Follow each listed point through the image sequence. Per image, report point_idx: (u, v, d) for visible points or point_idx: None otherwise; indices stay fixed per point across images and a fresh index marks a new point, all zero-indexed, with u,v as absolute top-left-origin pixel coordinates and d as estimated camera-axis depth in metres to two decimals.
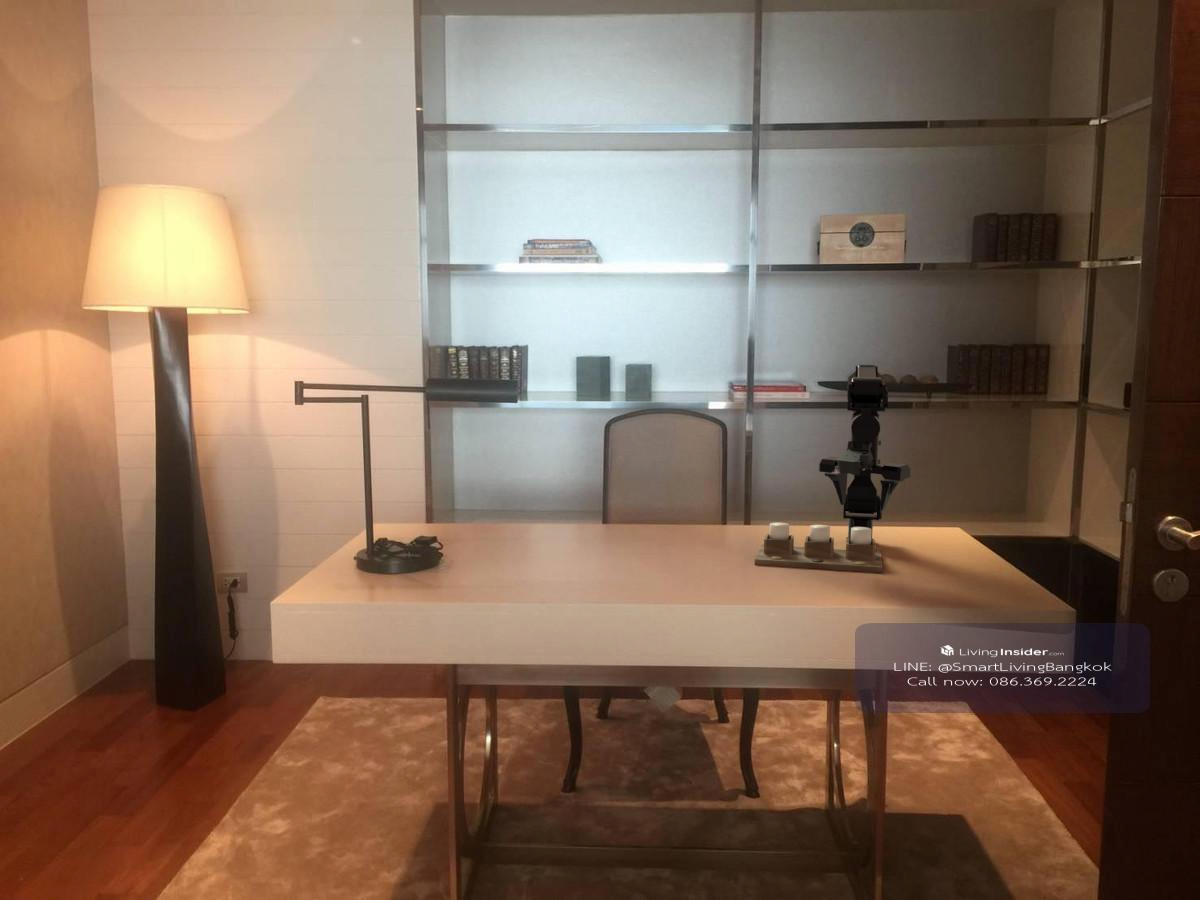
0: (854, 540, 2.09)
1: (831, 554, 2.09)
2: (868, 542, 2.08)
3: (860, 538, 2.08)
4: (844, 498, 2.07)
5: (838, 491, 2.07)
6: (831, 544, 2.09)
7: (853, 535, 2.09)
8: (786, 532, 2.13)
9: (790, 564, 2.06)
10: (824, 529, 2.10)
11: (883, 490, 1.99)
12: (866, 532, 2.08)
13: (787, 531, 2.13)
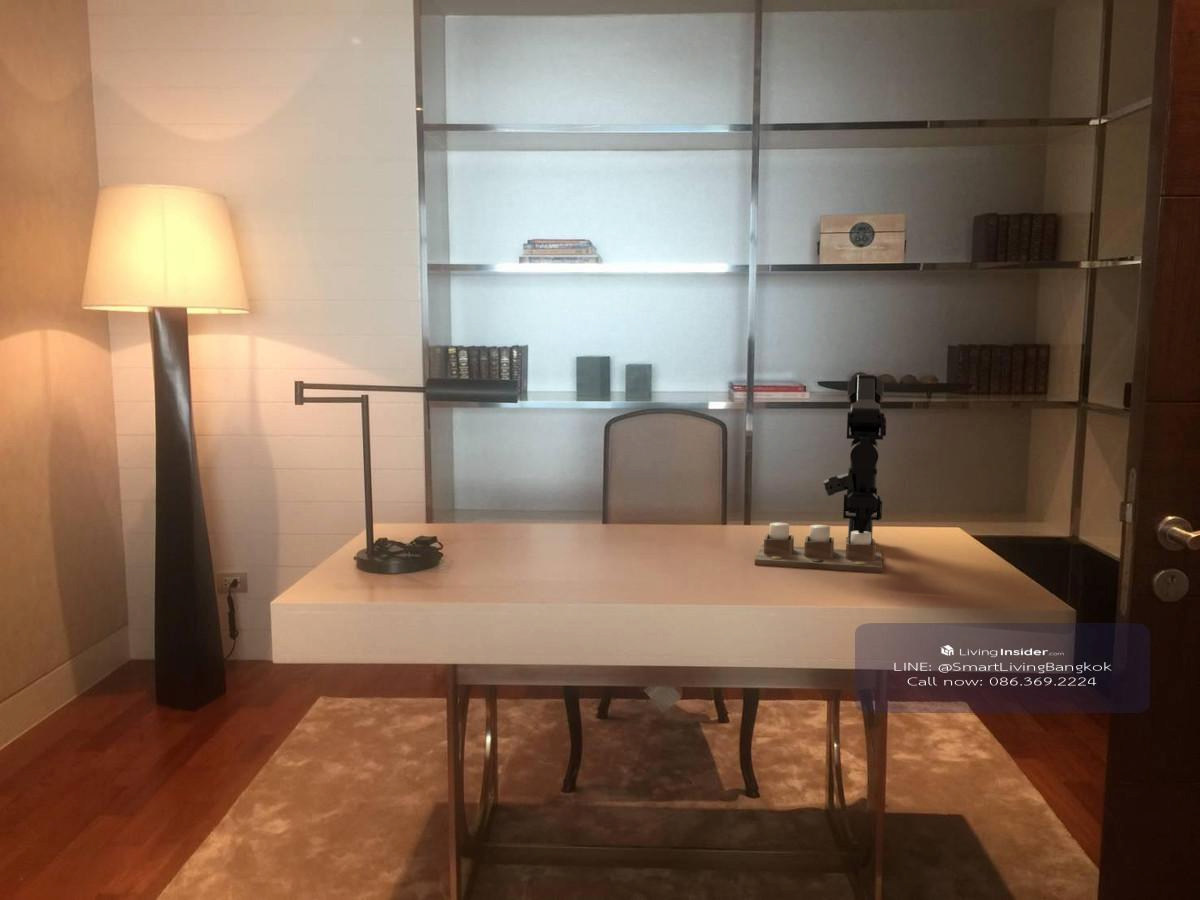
0: None
1: (831, 554, 2.09)
2: None
3: (860, 542, 2.08)
4: None
5: None
6: (831, 544, 2.09)
7: (853, 539, 2.09)
8: (786, 532, 2.13)
9: (790, 564, 2.06)
10: (824, 529, 2.10)
11: None
12: (866, 536, 2.08)
13: (787, 531, 2.13)
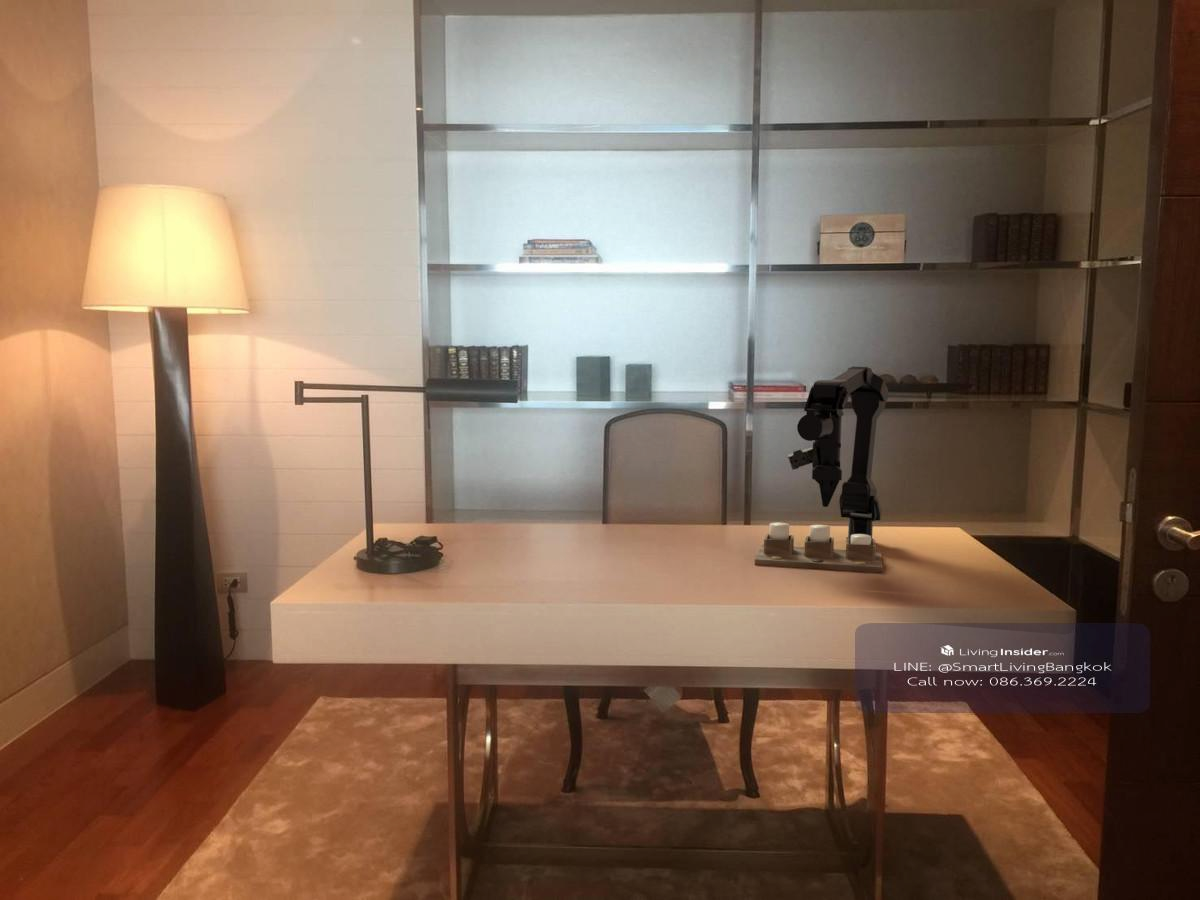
0: None
1: (831, 554, 2.09)
2: None
3: None
4: None
5: None
6: (831, 544, 2.09)
7: (853, 542, 2.09)
8: (786, 532, 2.13)
9: (790, 564, 2.06)
10: (824, 529, 2.10)
11: None
12: (866, 539, 2.08)
13: (787, 531, 2.13)
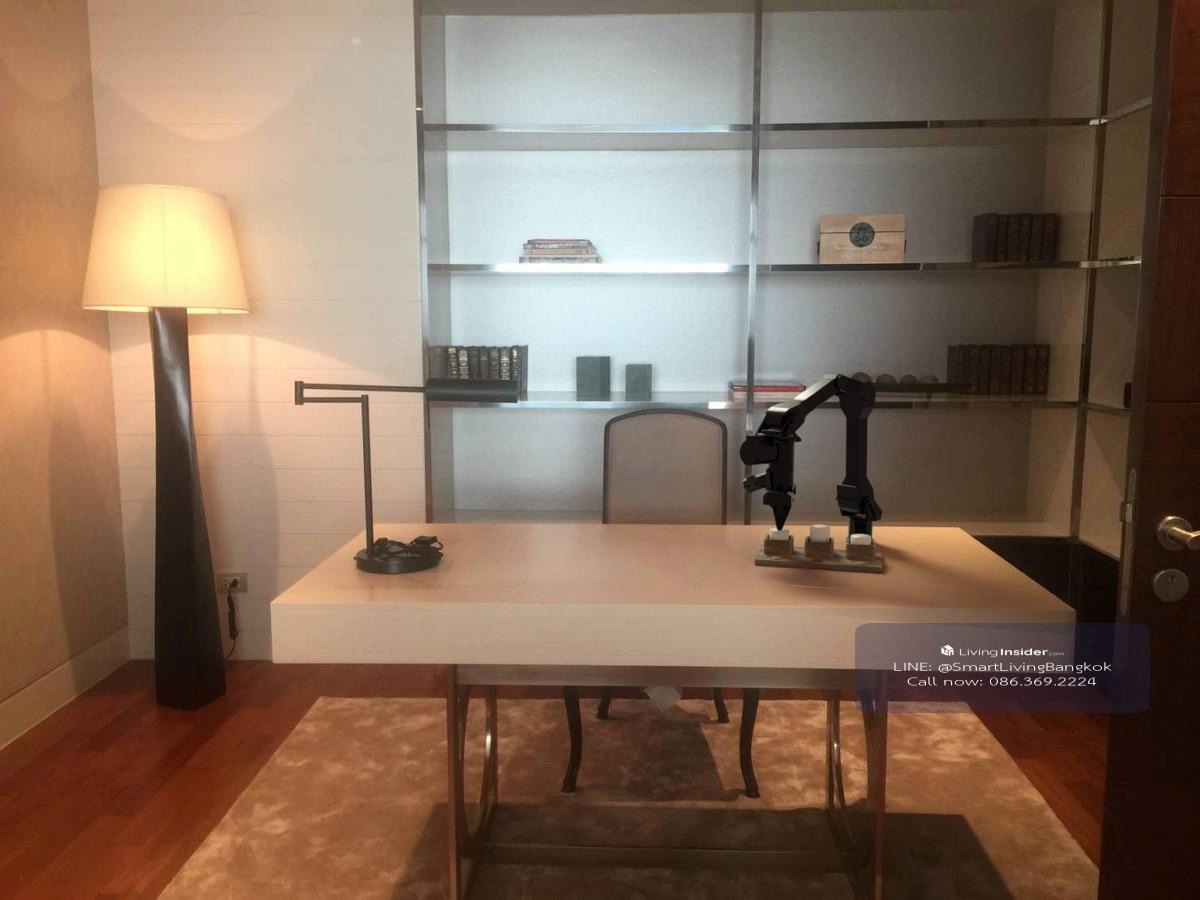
0: None
1: (831, 554, 2.09)
2: None
3: None
4: None
5: None
6: (831, 544, 2.09)
7: (853, 542, 2.09)
8: (786, 537, 2.13)
9: (790, 564, 2.06)
10: (824, 529, 2.10)
11: None
12: (866, 539, 2.08)
13: (787, 537, 2.13)
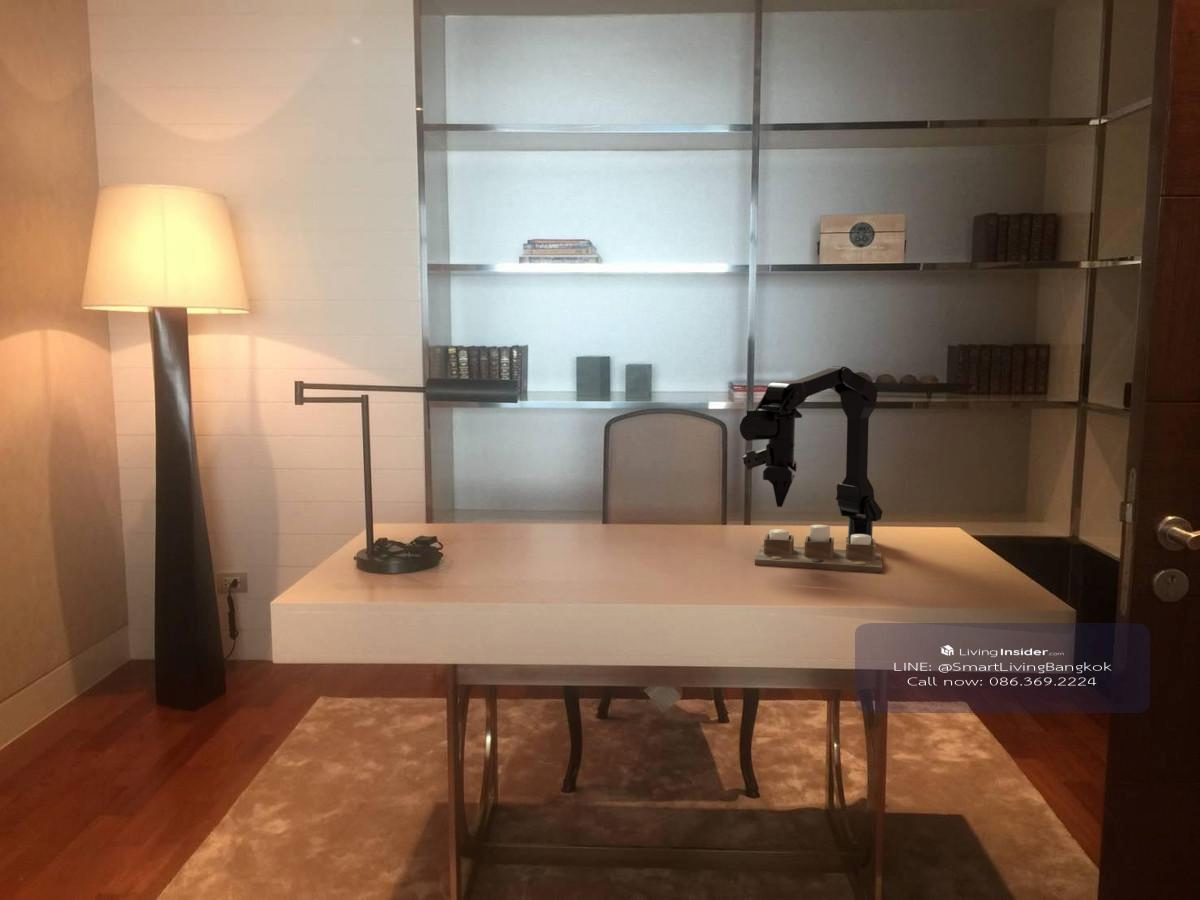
0: None
1: (831, 554, 2.09)
2: None
3: None
4: None
5: None
6: (831, 544, 2.09)
7: (853, 542, 2.09)
8: (786, 539, 2.13)
9: (790, 564, 2.06)
10: (824, 529, 2.10)
11: None
12: (866, 539, 2.08)
13: (787, 538, 2.14)
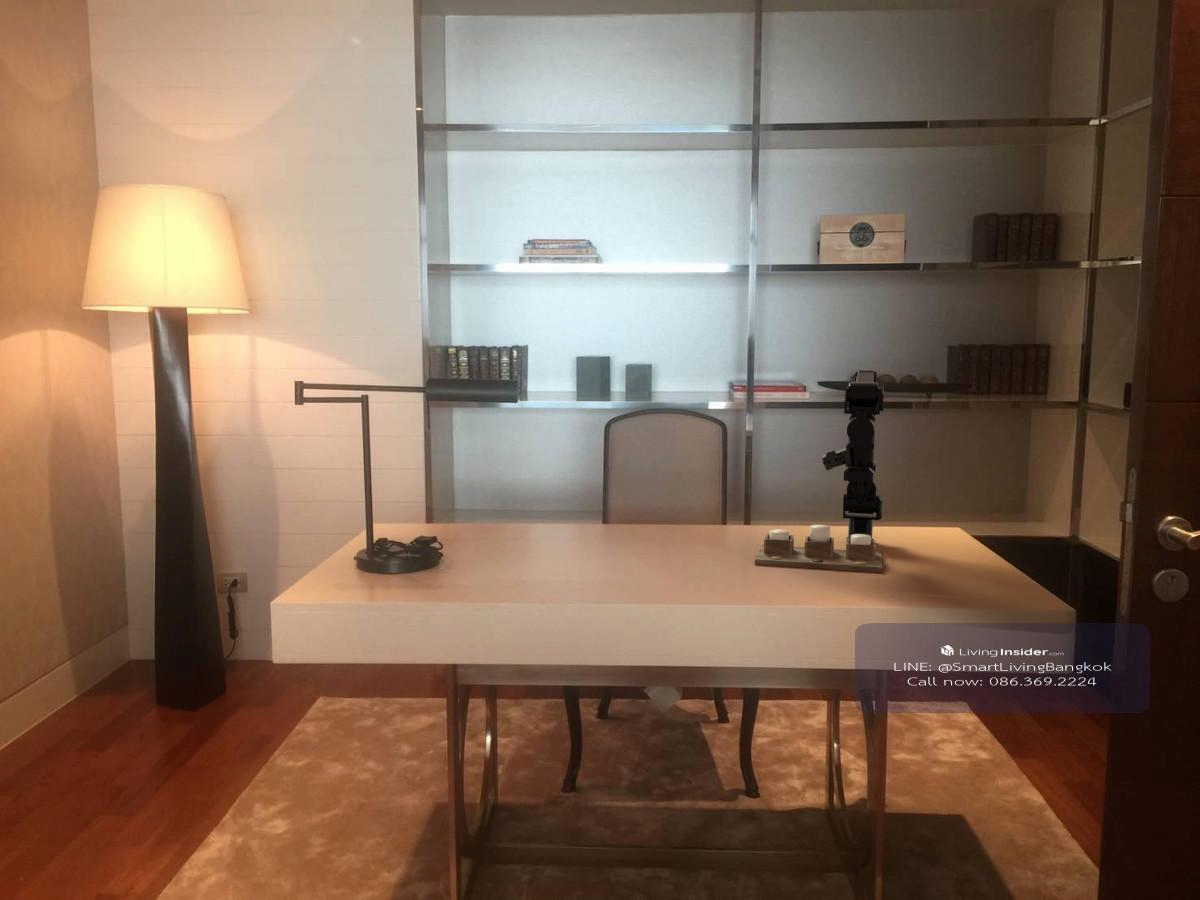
0: None
1: (831, 554, 2.09)
2: None
3: None
4: None
5: None
6: (831, 544, 2.09)
7: (853, 542, 2.09)
8: (786, 539, 2.13)
9: (790, 564, 2.06)
10: (824, 529, 2.10)
11: None
12: (866, 539, 2.08)
13: (787, 538, 2.14)
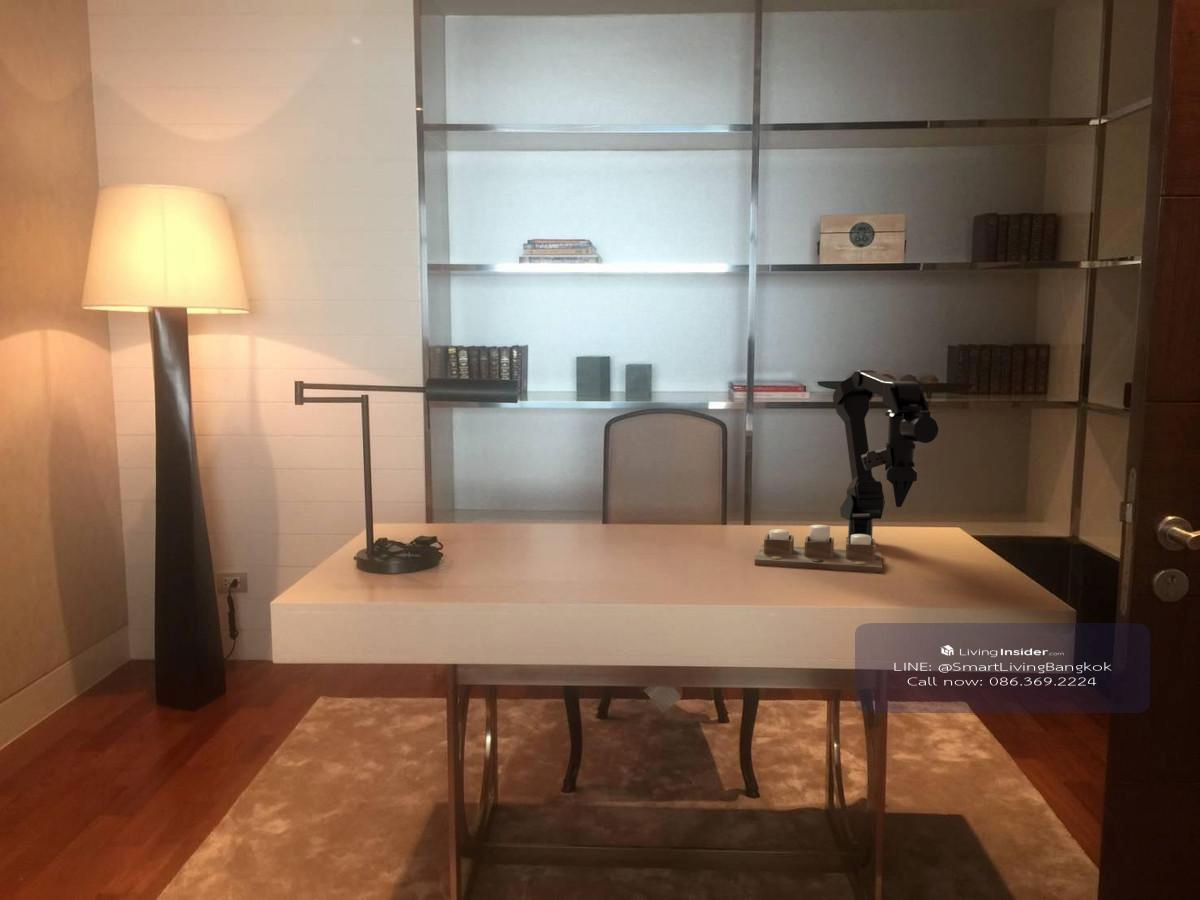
0: None
1: (831, 554, 2.09)
2: None
3: None
4: None
5: None
6: (831, 544, 2.09)
7: (853, 542, 2.09)
8: (786, 539, 2.13)
9: (790, 564, 2.06)
10: (824, 529, 2.10)
11: (893, 487, 2.11)
12: (866, 539, 2.08)
13: (787, 538, 2.14)
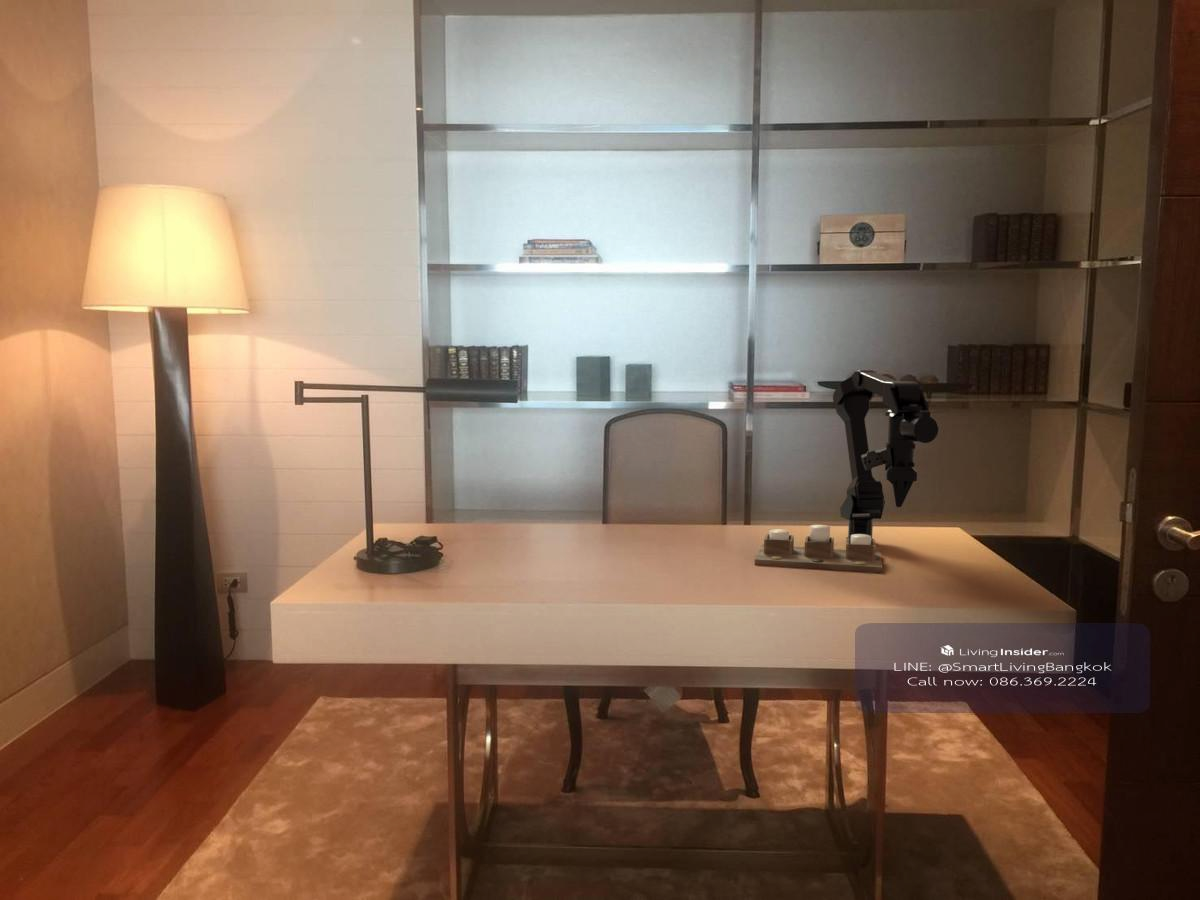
0: None
1: (831, 554, 2.09)
2: None
3: None
4: None
5: None
6: (831, 544, 2.09)
7: (853, 542, 2.09)
8: (786, 539, 2.13)
9: (790, 564, 2.06)
10: (824, 529, 2.10)
11: (893, 487, 2.11)
12: (866, 539, 2.08)
13: (787, 538, 2.14)
